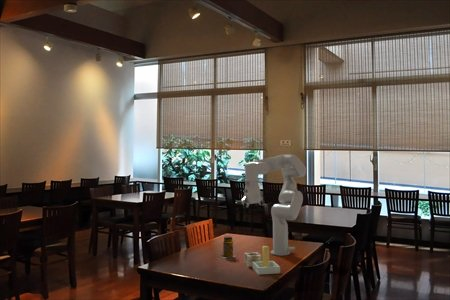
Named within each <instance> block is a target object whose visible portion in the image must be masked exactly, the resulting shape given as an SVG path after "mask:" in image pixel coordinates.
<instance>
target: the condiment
mask: <svg viewBox="0 0 450 300" xmlns="http://www.w3.org/2000/svg"><path fill="white" fill-rule="evenodd" d="M222 243H223V248H222V249H223V252H222V254H220V255H218V257H220V258H222V259H228V258H235V257H236V255H234V242H233V237H232V236H224V238H223V242H222Z"/></svg>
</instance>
